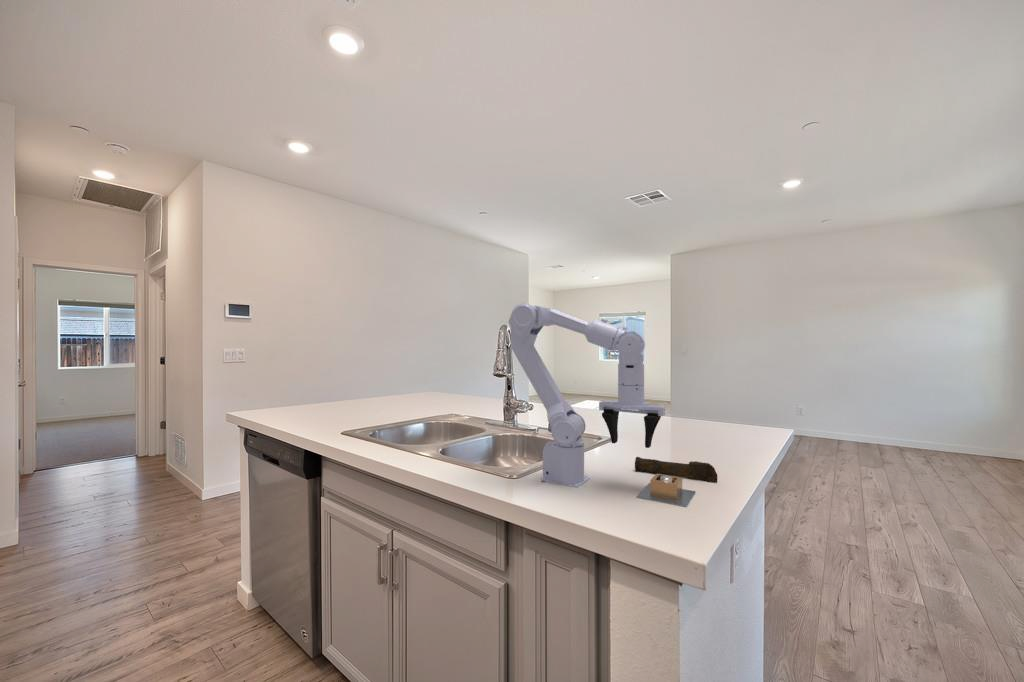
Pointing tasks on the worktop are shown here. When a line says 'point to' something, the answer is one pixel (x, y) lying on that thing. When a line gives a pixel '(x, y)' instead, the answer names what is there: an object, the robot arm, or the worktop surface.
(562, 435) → the robot arm
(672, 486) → the square wooden frame
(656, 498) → the piston plate
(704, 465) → the dark brown long piece
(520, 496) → the worktop surface
